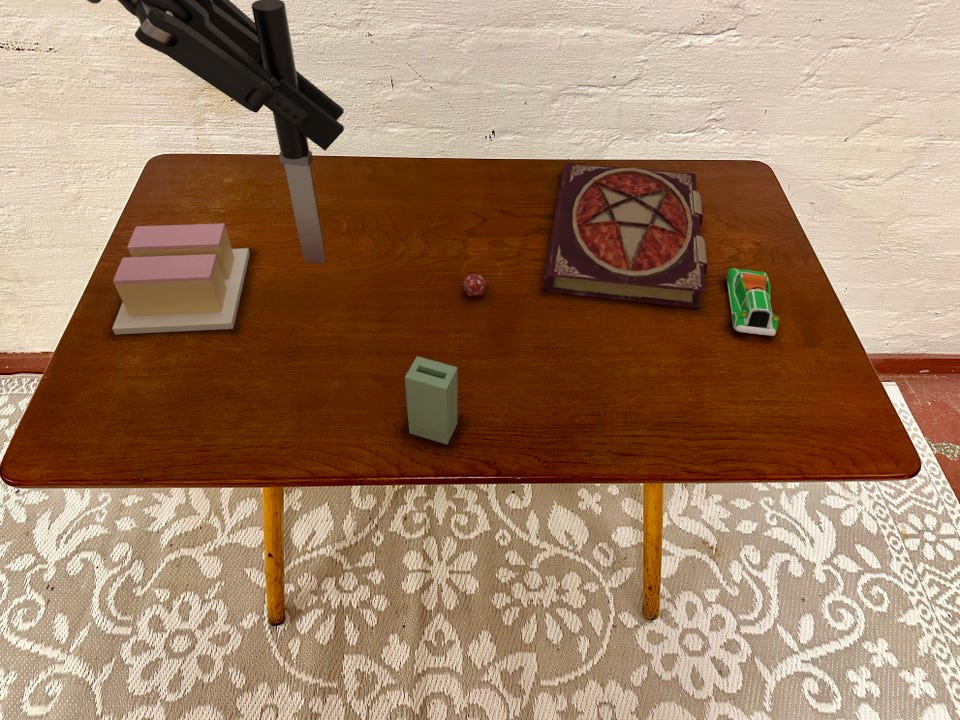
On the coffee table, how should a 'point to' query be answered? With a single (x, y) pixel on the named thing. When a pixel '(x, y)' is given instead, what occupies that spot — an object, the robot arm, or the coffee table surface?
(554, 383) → the coffee table surface
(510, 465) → the coffee table surface
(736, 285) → the toy car
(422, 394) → the knife stand
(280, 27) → the knife
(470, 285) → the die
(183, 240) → the cake
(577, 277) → the book
